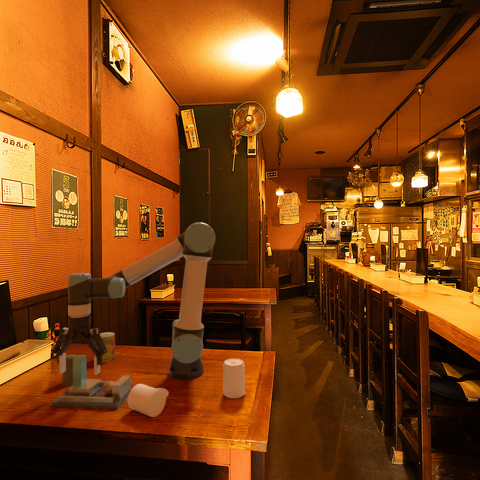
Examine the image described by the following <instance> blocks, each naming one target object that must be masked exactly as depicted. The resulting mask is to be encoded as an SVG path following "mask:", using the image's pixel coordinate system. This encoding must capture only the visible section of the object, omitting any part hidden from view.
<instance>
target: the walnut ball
mask: <svg viewBox="0 0 480 480" xmlns="http://www.w3.org/2000/svg"><path fill="white" fill-rule="evenodd" d="M106 381H107V380H106ZM112 381H113V380H108V381H107V382H106V383H104V385H103V387H102V391H103V393H105V394H111V393H112V385H113V384H114V382H115V381H114V382H112Z"/></svg>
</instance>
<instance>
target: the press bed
mask: <svg viewBox="0 0 480 480" xmlns="http://www.w3.org/2000/svg"><path fill="white" fill-rule="evenodd" d="M131 378H132V376H131V375H122V376H121V377H119V379H118V380H116V381H114V380H111V381H112V382H114V384H113V385H112V393H111V394H105V393H103V391H102V387H103V385H104V383H106V382H107V380H102V387H101V388H100V389H99V390H98V391H97V392H96V393H94V394H93V395H92V396H91V397H86V396H68V389H67V390H66V391H64V392H63V393H62V394H60V395H58V397H56V398H55V399H54V400H52V401H51V407H64V408H65V407H67V408H88V409H91V408H92V409H110V410H111V409H114V410H115V409H116V410H117V409H119V408H120V407H121V406H122V405H123V404H124V402H126V401H127V400H128V395H129V393H130V391H131V390H132V388H133V387H134V386H136V385H135V384H133V385H131V384H132V380H131Z"/></svg>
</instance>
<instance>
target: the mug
mask: <svg viewBox="0 0 480 480" xmlns="http://www.w3.org/2000/svg"><path fill="white" fill-rule="evenodd" d="M169 393H170V392H169V390H167V388H163V387H158V388H155V387H152V386H149V385H146V384H144V383H138V384H136V385H135V386H134V387H133V388H132V390H131V391H130V393H129V395H128V398H127V406H128V407H129V409H131V410H134V411H136V412H139V413H141V414H144V415H146V416H148V417H150V418H155V417H158V416H159V415H160V414H161V413H162V412H163V410H164V408H165V405H166V401H167V398H168V396H169Z"/></svg>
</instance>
